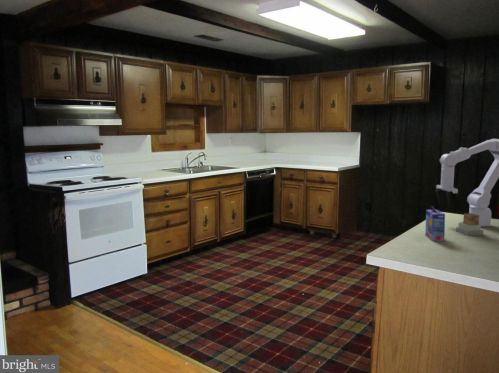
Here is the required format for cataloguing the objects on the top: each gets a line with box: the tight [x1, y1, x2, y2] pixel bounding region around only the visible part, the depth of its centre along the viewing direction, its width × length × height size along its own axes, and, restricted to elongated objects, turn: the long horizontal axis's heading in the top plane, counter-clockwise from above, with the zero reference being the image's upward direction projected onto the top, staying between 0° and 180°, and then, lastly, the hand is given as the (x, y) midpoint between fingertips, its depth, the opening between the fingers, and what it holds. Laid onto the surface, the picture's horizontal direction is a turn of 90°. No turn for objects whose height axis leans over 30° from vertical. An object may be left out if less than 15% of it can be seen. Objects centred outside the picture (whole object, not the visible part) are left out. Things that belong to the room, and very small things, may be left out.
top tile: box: [457, 221, 482, 231], centre depth 191 cm, size 6×6×2 cm
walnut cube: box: [462, 212, 479, 225], centre depth 190 cm, size 4×4×4 cm
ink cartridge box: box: [425, 205, 446, 242], centre depth 182 cm, size 10×6×14 cm, turn 174°
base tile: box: [455, 226, 484, 237], centre depth 191 cm, size 8×8×2 cm
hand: (445, 205), depth 204 cm, fingers open, 7 cm apart
